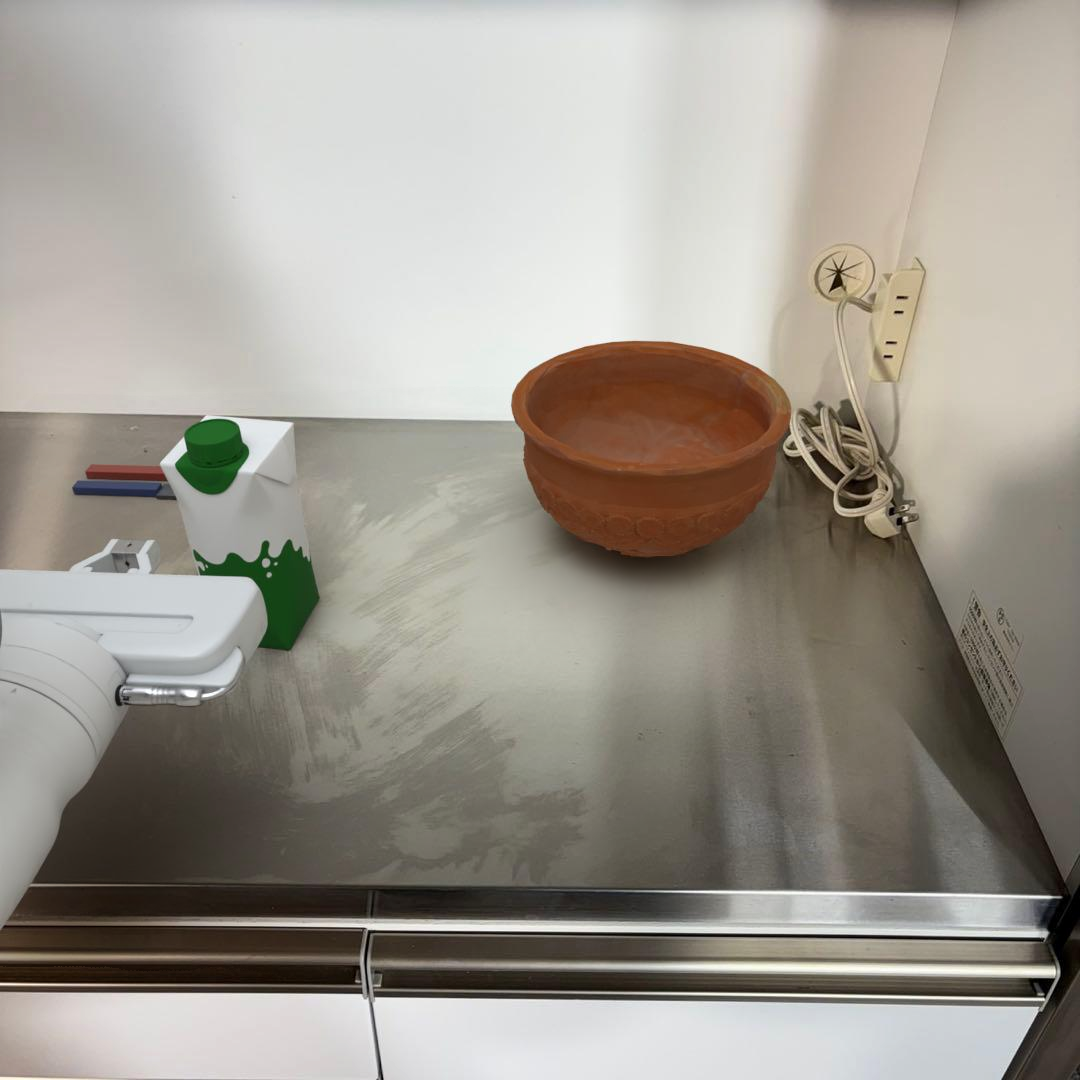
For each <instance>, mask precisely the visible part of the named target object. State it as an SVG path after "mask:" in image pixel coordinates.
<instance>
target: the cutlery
mask: <svg viewBox="0 0 1080 1080" xmlns="http://www.w3.org/2000/svg"><path fill="white" fill-rule="evenodd" d="M84 472H85V473H84V474H85V476H86V479H96V480H82V479H81V480H76V482H75V483H74V484H73V485H72V486H71V488H72V489H71V490H72V492H73V495H81V496H83V495H86V496H116V497H117V496H118V497H119V496H120V497H121V496H122V497H149V498H150V497H151V498H152V497H154V498H155V497H156V499H157V500H177V498H176V496H175V494H174V492H173V490H172V488H171V486H170V484H169V483H163V484H162V482H153V481H166V482H168V480H167V478H166V476H165V474H164V472H163V470H162V468H161V466H160V465H131V464H90V465H88V467H87V468H86V470H85V471H84ZM97 479H99V480H97ZM103 479H104V480H103ZM114 480H129V481H114ZM130 480H133V481H130ZM135 480H136V481H135ZM147 481H150V482H147ZM151 481H152V482H151Z"/></svg>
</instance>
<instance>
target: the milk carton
mask: <svg viewBox="0 0 1080 1080" xmlns="http://www.w3.org/2000/svg"><path fill="white" fill-rule="evenodd" d="M295 442H296V441H295V423H294V422H291V421H282V420H281V421H280V420H270V419H269V420H268V419H257V418H246V417H235V416H234V417H233V416H223V415H210V414H206V415H205V416H203V418H202V419H201V420H200V421H198V422H196V423H194V424H192V425H190V426H188V428H187V429H186V430H185V432H184V434H183V437H182V438H181V439H180V440H179V442H178V443H177V444H176V445H175V446H174V447H173V448H172V449H171V450H170V451H169V452H168V453H167V454H166V455H165V457H164V458H162V460H161V461H160V462H159V466H161V468H162V470H163V472H164V474H165V476H166V478H167V480H168V481H167V482H168V484H170V486H171V488H172V490H173V492H174V494H175V496H176V498H177V499H176V502H177V504H178V507H179V511H180V515H181V518H182V522H183V526H184V529H185V533H186V537H187V541H188V545H189V549H190V552H191V555H192V560H193V563H194V568H195V571H196V574H197V575H199V576H231V577H248V578H251V579H252V580H253V581H254V582H255V583H256V585H257V586H258V587H259V589H260V590H261V592H262V595H263V598H264V602H265V607H266V612H267V621H268V625H267V629H266V632H265V634H264V636H263V638H262V640H261V642H260V644H259V645H258V647H259V648H261V647H262V648H269V649H276V650H284V651H290V650H291V649H292V647H293V646H294V644H295V642H296V640H297V638H298V636H299V635H300V633H301V631H302V630H303V628H304V626H305V624H306V623H307V621H308V619H309V617H310V615H311V614H312V612H313V610H314V609H315V607H316V605H317V603H318V602H319V600H320V593H319V589H318V585H317V581H316V576H315V572H314V567H313V563H312V556H311V550H310V545H309V539H308V534H307V533H308V532H307V527H306V521H305V516H304V511H303V503H302V499H301V493H300V488H299V482H298V475H297V474H298V473H297V461H296V445H295V444H296V443H295Z"/></svg>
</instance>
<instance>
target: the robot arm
mask: <svg viewBox="0 0 1080 1080" xmlns="http://www.w3.org/2000/svg"><path fill="white" fill-rule="evenodd" d="M161 563H162V552H161V548H160V546H159V542H158V541H157V540H156V539H126V538H112V539H110V540H109V542H107V544H106V546H105V547H104V548H103V550H102V551H100V552H98V553H95V554H94V555H91V556H90V557H87V558H86V559H83V560H81V561H80V562H77V563H75V564H73V565H72V566H71V567H70V568H69V569H68V570H67V571H65V570H42V569H41V570H40V569H39V570H38V569H8V568H7V569H6V568H5V569H3V568H0V931H1V930H2V929H3V928H4V926H5V925H6V923H7V922H8V920H9V919H10V917H11V916H12V914H13V913H14V911H15V910H16V908H17V907H18V905H19V903H20V902H21V900H22V898H23V897H24V896H25V894H26V893H27V891H28V889H29V888H30V886H31V884H32V883H33V881H34V879H35V878H36V876H37V875H38V873H39V871H40V870H41V867H42V866H43V865H44V862H45V860H46V859H47V857H48V855H49V853H50V852H51V850H52V848H53V846H54V844H55V842H56V840H57V838H58V834H59V831H60V827H61V819H62V816H63V812H64V810H65V808H66V806H67V804H68V803H69V802H70V801H71V799H73V798H74V797H75V796H76V795H78V793H79V792H80V791H81V790H82V789H83V788H84V787H85V786H86V785H87V784H88V782H89V780H90V779H91V777H92V776H93V775H94V773H95V770H96V769H97V767H98V765H99V763H100V762H101V760H102V759H103V756H104V755H105V753H106V752H107V751H106V750H107V749H108V747H109V745H110V743H112V740H113V738H114V736H115V734H116V733H117V731H118V729H119V727H120V725H121V724H122V722H123V720H124V718H125V717H126V714H127V712H128V711H129V709H130V706H136V707H137V706H141V707H143V706H144V707H152V706H153V707H155V706H176V707H179V708H196V707H197V708H198V707H201V706H203V705H204V703H205V701H211V700H215V699H217V698H220V697H223V696H227V695H229V694H232V693H233V692H234V690H235V689H236V687H238V684H239V682H240V679H241V677H242V675H243V673H244V671H245V667H246V666H247V665H248V663H249V661H250V660H251V659H252V657H253V655H254V654H255V652H256V651H257V649H258V647H259V646H258V645H259V644H260V642H261V640H262V638H263V636H264V634H265V632H266V629H267V625H268V621H267V612H266V607H265V602H264V598H263V595H262V592H261V590H260V589H259V587H258V586H257V585H256V583H255V582H254V581H253V580H252V579H251V578H248V577H231V576H199V575H196V574H195V575H194V574H165V573H161V574H160V573H155V572H156V571H157V569H158V567H159V566H160V565H161Z"/></svg>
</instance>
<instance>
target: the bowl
mask: <svg viewBox="0 0 1080 1080" xmlns="http://www.w3.org/2000/svg"><path fill="white" fill-rule="evenodd" d="M510 407H511V413H512V416H513V419H514V422H515V424H516V425H517V426H518V427H519V429H520V430H521V432H523V437H524V438H523V439H524V445H523V449H522V450H523V458H522V461H523V466H524V469H525V473H526V476H527V479H528V481H529V482H530V484H531V487H532V490H533V493H534V494H535V496H536V498H537V500H538V502H539V504H540V506H541V507H542V508H543V510H544V511H545V512H546V513H547V514H549V515H550V516H551V517H552V518H553V519H554V521H556V522H557V523H558V525H559V526H560V527H561V528H562V529H564V530H565V531H567V532H569V533H571V534H572V535H574V536H576V537H578V539H581V540H582V541H584V542H586V543H591V544H592V543H593V544H596V545H598V546H601V547H603V548H605V550H607V551H610V552H611V551H615V552H620V555H624V556H630V557H640V558H641V557H643V558H653V557H673V556H679V555H683V554H684V555H685V554H687V552H690V551H692V550H693V549H697V548H703V547H706V546H709V545H710V544H713V543H715V542H717V540H719V539H720V538H722V537H725V536H727V535H728V534H730V533H732V532H733V531H734V530H736V529H737V528H738V527H740V526H741V525H742V524H744V522H745V521H746V519H747V518H748V516H749V515H751V514H752V513H754V511H755V510H756V507H757V506H758V503H760V502H761V501H763V499H764V498H765V496H766V494H767V492H768V491H769V489H770V486H771V483H772V481H773V477H774V473H775V470H776V464H777V458H776V456H777V451H778V446H779V443H780V441H781V440H782V438H783V437H784V435H785V434H786V433H787V431H788V430H789V427H790V425H791V424H790V423H791V419H792V405H791V401H790V397H789V396H788V394H787V393H786V390H785V389H784V388H783V387H782V385H780V384H779V382H778V381H776V379H775V378H773V377H772V376H770V375H769V374H768V373H766V372H765V371H763V370H762V369H761V368H759V367H758V366H755V365H753V364H751V363H749V362H748V361H745V360H742V359H741V358H739V357H736V356H734V355H731V354H729V353H728V354H727V353H725V352H721V351H719V350H714V349H710V348H707V347H702V346H699V345H698V346H697V345H692V344H685V343H679V342H674V341H664V340H663V341H660V340H657V341H656V340H623V341H610V342H604V343H603V342H602V343H596V344H591V345H585V346H582V347H578V348H576V349H573V350H570V351H567V352H564V353H561V354H558V355H556V356H553V357H552V358H551V357H550V359H547V360H546V361H543V362H542V363H539V364H538V365H536V366H535V367H533V368H532V369H530V370H529V371H527V372H526V374H525V375H524V376H523V377H522V378H521V380H519V382H518V383H517V384H516V386H515V388H514V390H513V391H512V394H511V403H510Z"/></svg>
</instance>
